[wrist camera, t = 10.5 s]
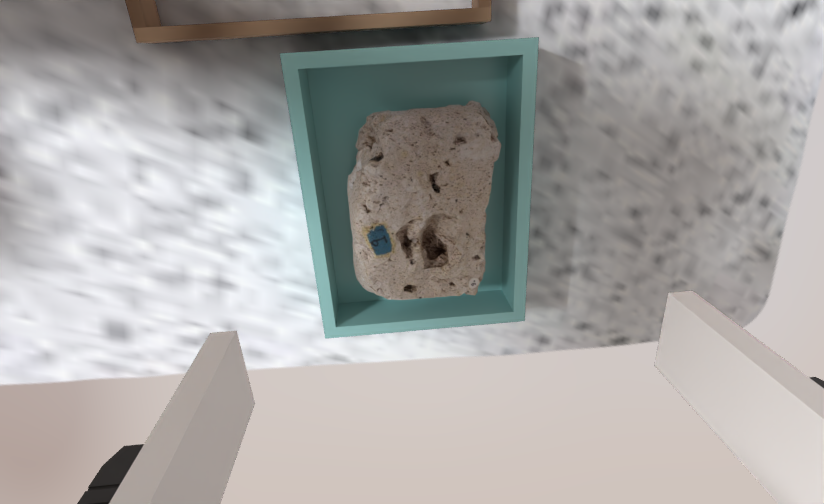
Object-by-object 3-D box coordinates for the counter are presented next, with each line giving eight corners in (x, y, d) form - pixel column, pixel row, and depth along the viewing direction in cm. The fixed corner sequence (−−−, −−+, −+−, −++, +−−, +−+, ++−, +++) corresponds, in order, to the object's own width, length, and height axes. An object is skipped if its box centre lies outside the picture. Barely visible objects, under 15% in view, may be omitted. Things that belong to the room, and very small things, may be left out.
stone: (482, 320, 31) (333, 310, 29) (463, 269, 35) (334, 257, 33) (556, 134, 24) (366, 100, 21) (520, 101, 28) (361, 70, 26)
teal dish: (331, 307, 34) (325, 338, 31) (292, 53, 27) (279, 53, 23) (509, 292, 35) (524, 320, 31) (517, 39, 28) (538, 37, 24)
